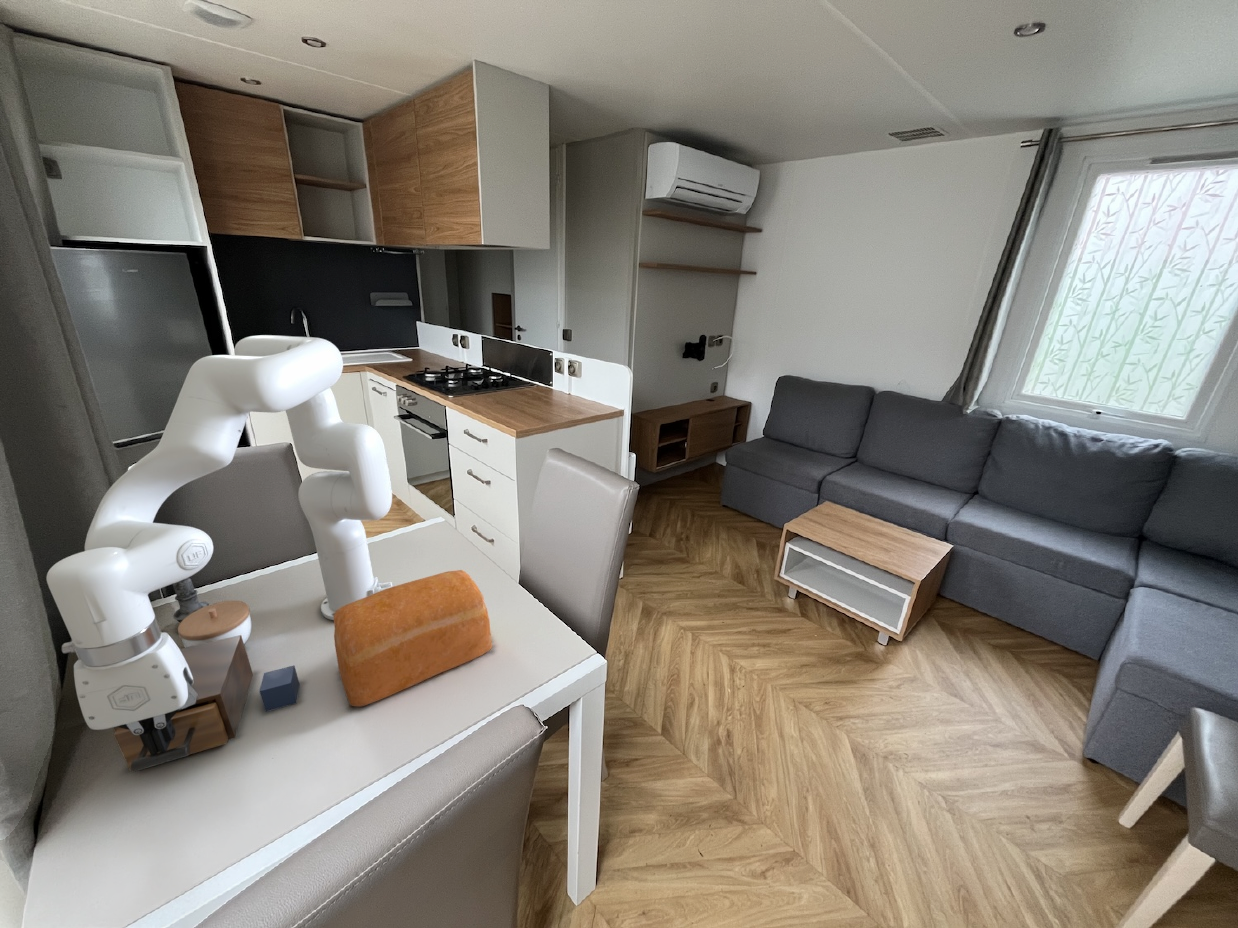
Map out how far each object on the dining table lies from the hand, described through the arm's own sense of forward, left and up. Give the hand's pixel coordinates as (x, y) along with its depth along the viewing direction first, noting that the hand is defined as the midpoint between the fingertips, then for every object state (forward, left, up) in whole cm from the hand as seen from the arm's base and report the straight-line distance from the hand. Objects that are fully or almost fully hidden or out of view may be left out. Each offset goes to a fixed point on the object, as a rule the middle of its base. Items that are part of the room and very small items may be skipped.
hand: (162, 744), depth 70 cm
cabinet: (+2, -11, -6) cm, 13 cm away
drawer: (+1, -7, -5) cm, 9 cm away
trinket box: (+5, -28, -6) cm, 29 cm away
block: (-10, -12, -6) cm, 17 cm away
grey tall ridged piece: (+14, -38, -6) cm, 41 cm away
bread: (-32, -16, -6) cm, 37 cm away
